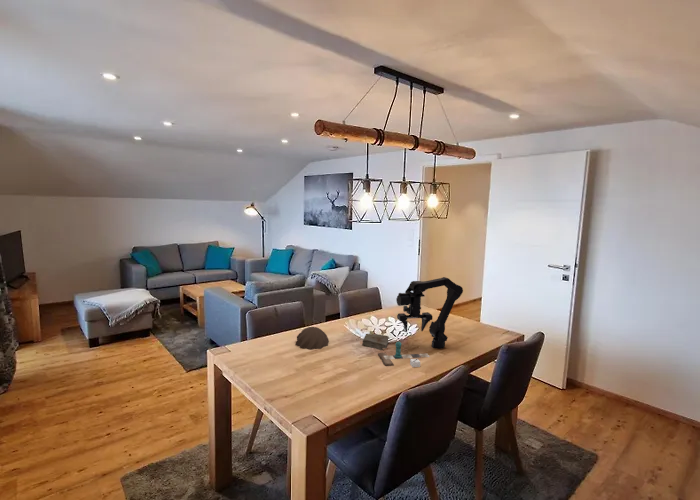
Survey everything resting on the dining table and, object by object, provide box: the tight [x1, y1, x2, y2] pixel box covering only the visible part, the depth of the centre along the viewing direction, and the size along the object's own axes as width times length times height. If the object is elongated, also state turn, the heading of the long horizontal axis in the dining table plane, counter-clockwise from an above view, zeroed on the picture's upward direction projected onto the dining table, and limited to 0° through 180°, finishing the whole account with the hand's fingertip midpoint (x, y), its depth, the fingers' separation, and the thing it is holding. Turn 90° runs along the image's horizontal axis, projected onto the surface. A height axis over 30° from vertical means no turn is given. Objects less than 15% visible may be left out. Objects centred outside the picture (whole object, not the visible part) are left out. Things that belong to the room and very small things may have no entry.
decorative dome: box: [295, 326, 330, 351], centre depth 219 cm, size 19×20×10 cm
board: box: [377, 351, 431, 367], centre depth 201 cm, size 28×14×1 cm, turn 101°
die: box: [409, 358, 421, 368], centre depth 190 cm, size 4×4×4 cm
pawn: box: [394, 341, 403, 359], centre depth 199 cm, size 4×4×8 cm
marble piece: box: [361, 333, 390, 351], centre depth 220 cm, size 17×15×4 cm
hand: (414, 331), depth 208 cm, fingers open, 9 cm apart
